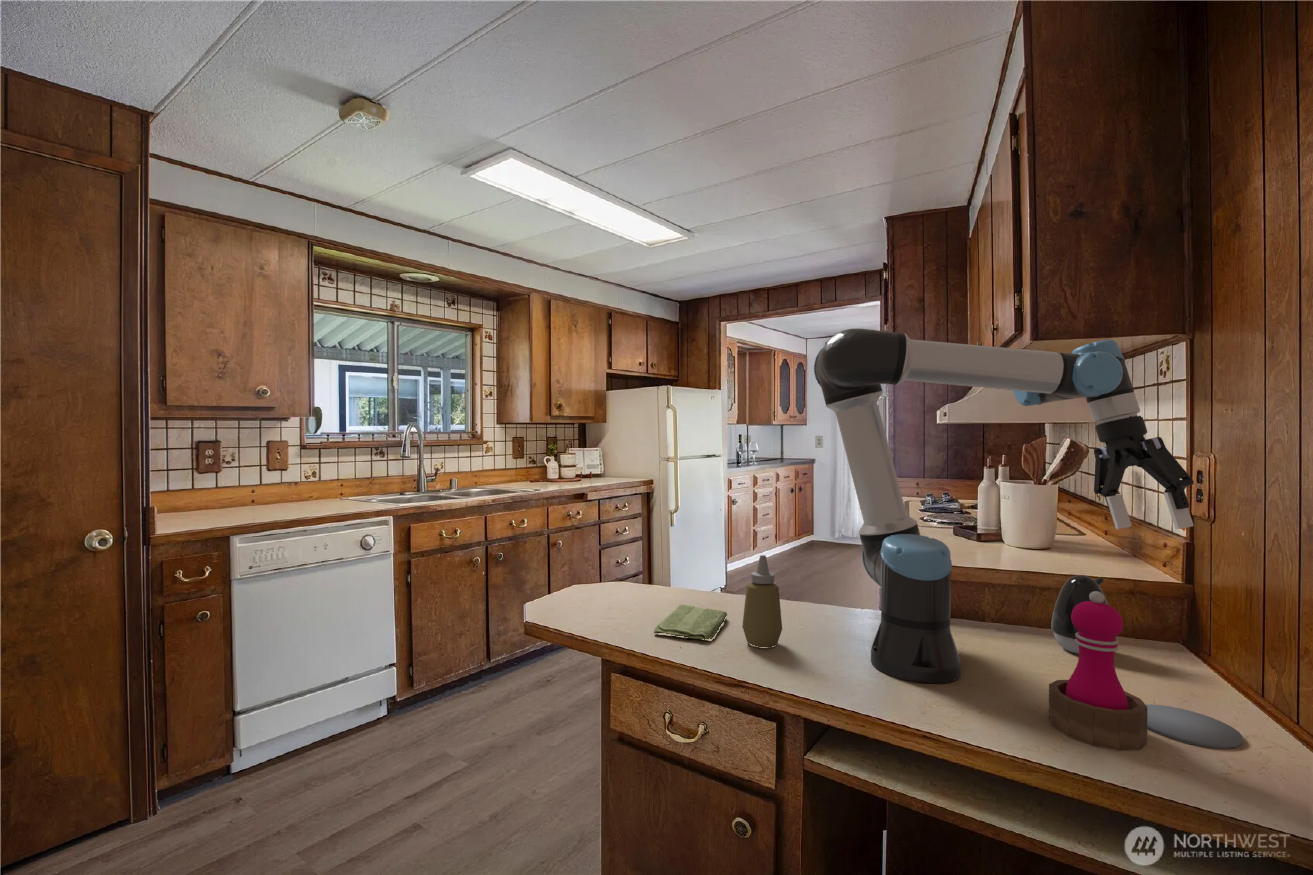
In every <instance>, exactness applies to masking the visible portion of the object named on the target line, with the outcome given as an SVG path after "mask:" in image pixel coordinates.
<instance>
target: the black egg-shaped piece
mask: <svg viewBox="0 0 1313 875" xmlns="http://www.w3.org/2000/svg"><path fill="white" fill-rule="evenodd" d="M1104 581H1105V580H1104V579H1103V578H1102V577H1098V578H1096V579H1093V578H1092V577H1090V576H1087V575H1083V574H1078V575H1077V574H1076V575H1072V576H1071V577H1070V578H1068V579H1067V580H1066V581H1065V583H1064V584H1063V585H1062V587H1061V589H1060V591H1059V593H1058V595H1057V599H1056V601H1055V605H1054V608H1053V611H1052V617H1051V625H1050V628H1051V631H1052V632H1053V636H1054V638H1055V640H1056V642H1057V643H1058V644H1059V645H1060V646H1061V648H1063V649H1064V650H1066V651H1067V652H1070V653H1072V654H1076V655H1079V645H1078V644H1077V643H1076V642H1075V639H1076V636H1075V633H1077V632H1078V630H1077V629H1076V628H1075V626H1074V625H1073V623H1072V620H1071V614H1072V610H1073V608H1074V607H1075V606H1076V605H1077V604H1079V603H1081V602H1086V601H1091V600H1090V599H1089V595H1090V593H1091V592H1094V591H1098V592H1100V593H1102V594H1103V595H1104V602H1103V603H1105V604H1108V605H1109V602H1108V601H1107V598H1106V595H1105V594H1104V592H1103V589H1102V588H1101V587H1100V586H1101V585H1102V584H1103V583H1104Z"/></svg>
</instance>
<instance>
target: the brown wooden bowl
mask: <svg viewBox="0 0 1313 875" xmlns="http://www.w3.org/2000/svg"><path fill="white" fill-rule="evenodd" d="M1068 681H1069V679H1057V680H1054V681H1052V682H1050V683H1048V719H1049V722H1050V724H1051V726H1052V727H1053V728H1055V729H1056V730H1058V731H1059V732H1061V733H1062V734H1064V735H1065V736H1067V737H1069V738H1071V739H1074V740H1078V741H1080V742H1083V743H1085V744H1089V745H1091V746H1094V747H1098V748H1099V747H1100V748H1104V749H1110V750H1115V751H1140V750H1143V748H1144V747H1145V746H1147V744H1148V729H1147V714H1148V707H1147V706H1146V705H1147V704H1146V703H1145V702H1144V701H1143V700H1142V698H1140V697H1137V696H1136V695H1133V694H1131V693H1129V692H1127V691H1125V690H1124V692H1125V694H1126V698H1127V701H1128V710H1113V709H1107V708H1101V707H1095V706H1091V705H1088V704H1085V703H1082V702H1079V701H1076V700H1073V699H1071V698H1069V697H1068V696H1066V686H1067V684H1068Z"/></svg>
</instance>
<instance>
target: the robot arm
mask: <svg viewBox="0 0 1313 875" xmlns="http://www.w3.org/2000/svg"><path fill="white" fill-rule="evenodd" d="M1125 362H1126V360H1125V357H1124V355H1123V354H1122V350H1121V348H1120V346H1119V343H1117V342H1116V341H1115V340H1113V339H1103V340H1102V339H1101V340H1097V341H1094V342H1091V343H1087V344H1084V345H1082V346H1081V345H1080V346H1079V347H1076V348H1075V349H1073V350H1072V351H1071V353H1069V352H1055V351H1048V350H1036V349H1025V348H1024V349H1022V348H1015V347H1014V348H1011V347H1001V346H990V345H989V346H988V345H977V344H965V343H955V342H946V341H945V342H944V341H931V340H922V339H911V338H910V337H909V336H908V334H907V333H905V332H904V333H903V332H895V331H894V332H892V331H885V330H877V329H867V328H849V329H848V328H847V329H844V330H841V331H839V332H837V333H836V334H833V336H831V337H830V338H829V339H828V340H827V342H826V343H825V344H824V345H823V346H822V347H821V348H820V349H819V351H818V352H817V355H816V357H815V360H814V364H813V372H814V377H815V380H816V381H817V384H818V385H819V387H820V388H821V391H822V395H823V399H824V403H825V408H828V409H830V410H831V411H833V412H834V414H835V416H836V420H837V423H838V427H839V432H840V436H841V439H842V444H843V446H844V447H843V448H844V451H845V455H846V457H847V458H846V459H847V463H848V466H849V471H850V475H851V478H852V482H853V485H854V490H855V494H856V497H857V501H858V505H859V509H860V512H861V516H862V520H863V524H862V526H861V527H860V528H859V530H858V535H859V539H860V543H861V547H862V552H861V555H862V556H861V557H862V564H863V566H864V569H865V572H866V573H867V574H868V576H869V577H870V578H871V580H873V582H875V583H876V584H877V585H878V586H879V587H880V589H881V590H880V591H881V594H880V596H881V598H880V599H881V601H880V602H881V604H880V609H881V611H880V612H881V613H880V614H881V615H880V623H879V626H878V628H877V631H876V633H875V636H874V639H873V642H872V646H871V648H870V662H871V664H872V666H873V667H874V668H876V669H877V670H879V671H880V672H882V673H885V674H886V675H889V676H891V677H895V678H898V679H901V680H906V681H911V682H917V683H925V684H942V683H943V684H944V683H950V682H953V681H956V680H958V679H959V678H961V675H962V662H961V659H960V655H959V652H958V649H957V646H956V643H955V640H954V637H953V634H952V631H951V602H952V601H951V596H952V595H951V594H952V592H951V591H952V589H951V588H952V585H951V584H952V583H951V582H952V580H951V578H952V577H951V576H952V568H953V562H952V559H951V550H950V548H949V547H948V545H947V544H946V543H945V542H943V541H941V540H939V539H937V538H933V537H932V538H931V537H929V536H927V535H921V533H920V528H919V525H918V521H917V520H916V519H914V518H913V517H911V516H909V515H908V514H907V510H906V507H905V503H904V498H903V496H902V490H901V488H900V482H899V481H898V476H897V472H896V469H895V465H894V461H893V458H892V452H891V450H890V446H889V442H888V439H887V434H886V430H885V426H884V422H883V420H882V415H881V412H880V408H879V400H880V399H881V396H882V395H883V393H884V392H883V387H882V385H893V386H894V385H895V386H898V385H901V383H903V382H904V381H907V382H908V381H910V382H918V383H919V382H920V383H930V384H941V385H942V384H943V385H953V386H962V387H963V386H964V387H972V388H973V387H974V388H984V389H996V390H1004V391H1005V390H1007V391H1012V393H1013V395H1014V397H1015V399H1016V401H1017V402H1018V403H1019V404H1020V405H1021V406H1024V407H1030V406H1041V405H1043V404H1047V403H1052V402H1057V401H1059V402H1060V401H1065V400H1066V401H1067V400H1073V399H1081V398H1085V399H1086V403H1087V407H1088V409H1089V414H1090V417H1091V420H1092V422H1093V423H1097V424H1096V425H1095V427H1094V429H1095V432H1096V435H1097V439H1098V441H1099V442H1100V443H1102V444H1103V443H1104V444H1105V446H1103V447H1098V448H1094V449H1093V454H1094V458H1095V462H1094V478H1093V479H1094V481H1093V482H1094V483H1093V492H1094V494H1096V495H1101V496H1102V497H1104V499H1105V502H1106V505H1107V509H1108V510H1109V512H1110V514H1111V518H1112V521H1113V524H1114V527H1115V529H1116V530H1123V529H1127V528H1130V527H1131V528H1132V523H1131V519H1130V516H1129V513H1128V510H1127V507H1126V506H1127V505H1126V503H1125V500H1124V497H1123V494H1122V493H1121V491H1119V490H1120V487H1121V484H1122V480H1123V477H1124V475H1125V472H1126V469H1127V468H1129V467H1138V468H1141V469H1142V470H1144V472H1146V473H1147V474H1148V475H1149V476H1150V477H1152V479H1154V480H1155V481H1156V482H1157V483H1158V484H1159V485H1160V486H1162V487H1163V488H1164V492H1163V496H1164V498H1165V502H1166V504H1167V507H1168V511H1169V514H1170V516H1171V519H1172V522H1173V525H1174V529H1175V530H1180V529H1185V528H1191V527H1195V526H1194V522H1193V519H1192V517H1191V514H1190V511H1189V508H1190V503H1189V502H1188V498H1187V494H1186V492H1185V489H1186V488H1188V487H1190V486H1193V485H1194V483H1195V481H1194V479H1193V478H1192V477H1191V476H1190V474H1189V473H1188V472H1187V471H1186V470H1185V468H1183V466H1182V465H1181V464H1180V463H1179V462H1178V460H1177V459H1176V458H1175V457H1174V456H1173V454H1172V453H1171V452H1170V451H1169V449H1168V448H1167V447H1166V445H1165V442H1164V439H1163V438H1162V437H1160V436H1156V437H1151V438H1145V435H1147V433H1148V430H1147V425H1146V423H1145V420H1144V417H1143V416H1141V415H1138V414H1139V413H1140V412H1141V408H1140V405H1139V402H1138V400H1137V396H1136V393H1135V390H1134V386H1133V383H1132V380H1131V377H1130V375H1129V371H1128V368H1127V365H1126V363H1125Z"/></svg>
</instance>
